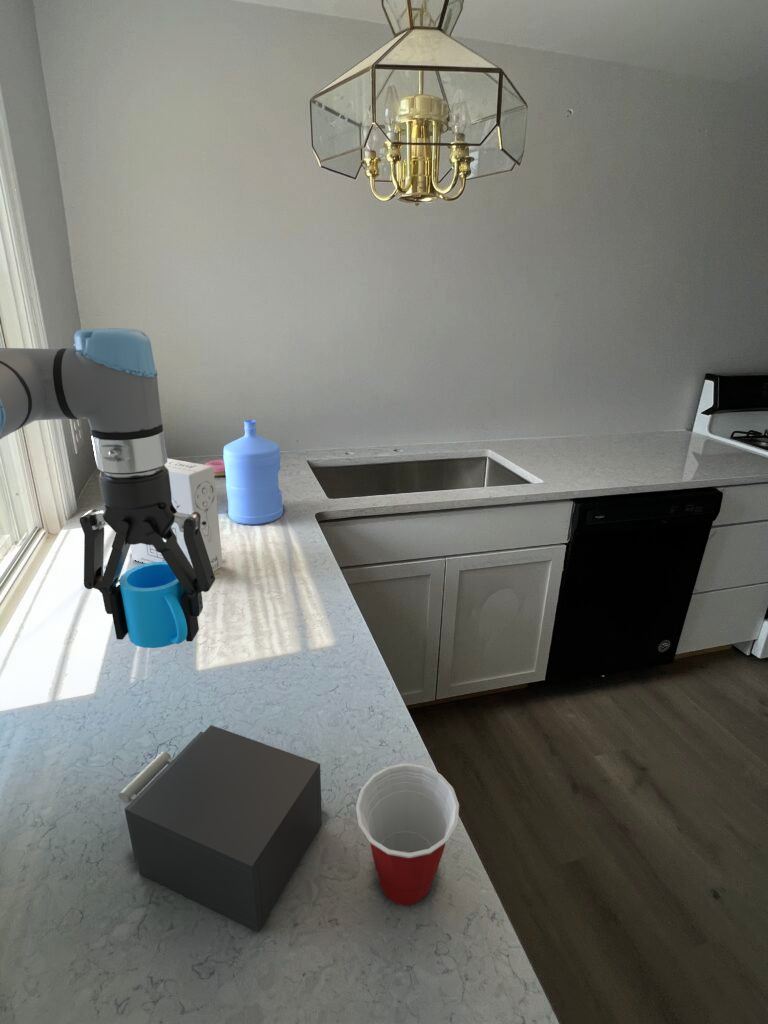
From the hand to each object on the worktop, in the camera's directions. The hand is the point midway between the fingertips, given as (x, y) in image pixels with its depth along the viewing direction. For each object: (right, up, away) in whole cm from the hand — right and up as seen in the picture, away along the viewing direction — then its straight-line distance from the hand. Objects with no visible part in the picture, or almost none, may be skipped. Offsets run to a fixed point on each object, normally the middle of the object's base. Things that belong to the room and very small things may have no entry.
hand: (158, 634), depth 73 cm
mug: (+1, 0, 0) cm, 1 cm away
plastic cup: (+32, -26, -10) cm, 42 cm away
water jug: (-8, +15, +91) cm, 92 cm away
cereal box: (-20, +3, +61) cm, 64 cm away
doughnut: (-29, +32, +126) cm, 133 cm away
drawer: (+8, -22, -6) cm, 25 cm away
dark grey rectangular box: (+12, -24, -7) cm, 28 cm away
